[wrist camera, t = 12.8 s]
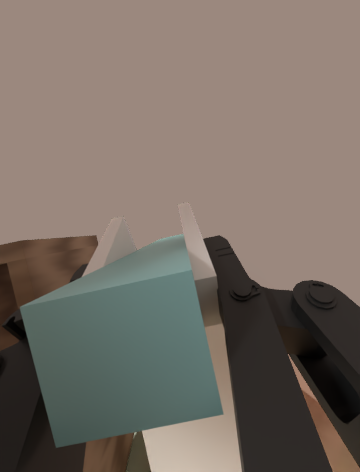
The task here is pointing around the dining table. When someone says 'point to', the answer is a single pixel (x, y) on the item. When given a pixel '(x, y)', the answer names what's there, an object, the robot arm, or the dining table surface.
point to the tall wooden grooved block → (39, 284)
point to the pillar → (200, 428)
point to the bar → (123, 348)
